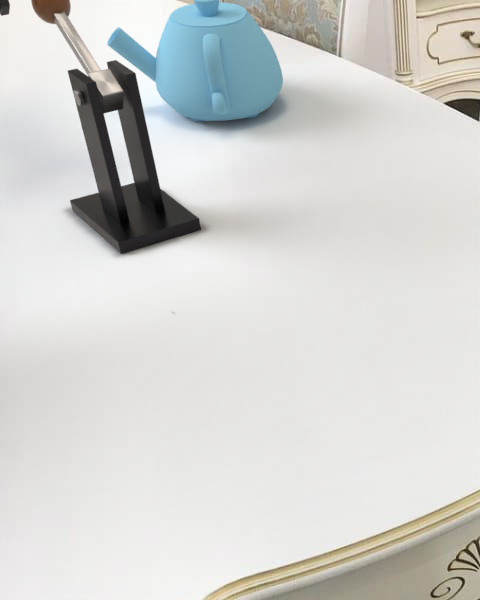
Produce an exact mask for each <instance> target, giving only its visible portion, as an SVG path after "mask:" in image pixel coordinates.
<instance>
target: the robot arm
mask: <svg viewBox="0 0 480 600" xmlns="http://www.w3.org/2000/svg"><path fill="white" fill-rule="evenodd" d="M10 7H11V4H10V1H9V0H0V16H1V17H2V16H6V15H8V16H9V15H10V9H11V8H10Z"/></svg>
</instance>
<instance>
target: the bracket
mask: <svg viewBox="0 0 480 600" xmlns="http://www.w3.org/2000/svg"><path fill="white" fill-rule="evenodd" d="M106 65H107V69H110V70H111V72H112V73H113V75H114V77H115V78H116V80H117V81H118V83H119V85H120V86H121V88H122V89H123V109H121V110H117V113H118V117H119V122H120V126H121V131H122V134H123V139H124V143H125V147H126V153H127V157H128V160H129V165H130V169H131V175H132V179H133V182H132V183H131V182H130V183H128V184H125V185H121V180H120V176H119V172H118V168H117V163H116V159H115V155H114V151H113V146H112V143H111V138H110V135H109V130H108V126H107V122H106V118H105V113H103V109H102V105H101V100H100V96H99V92H98V88H97V84H96V82H95V81H94V80H92V79H91V78H90V77H89V76H88V75H87V74H85V73H84V72H83V71H81V70H80V69H78V68H74V69H67V75H68V78H69V82H70V86H71V90H72V93H73V98H74V102H75V106H76V111H77V113H78V117H79V121H80V126H81V129H82V133H83V136H84V141H85V145H86V148H87V154H88V157H89V160H90V164H91V168H92V172H93V174H94V180H95V184H96V188H97V191H98V192H95V193H91V194H87V195H84V196H80V197H77V198H73V199H70V200H69V202H70V207H71V209H72V212H74V214H76V216H78V217H79V218H80V219H81V220H83V221H84V222H85V223H86V224H87V225H88V226H89V227H90V228H91V229H92V230H94V231H95V232H96V233H97V234H98V235H99V236H100V237H102V238H103V239H104V240H105V241H106V242H107V243H108V244H110V245H111V246H112V247H113V248H114V249H115V250H116V251H117V252H119V253H120V254H124V253H128V252H131V251H134V250H137V249H140V248H145V247H147V246H150V245H154V244H158V243H160V242H164V241H167V240H170V239H174V238H177V237H181V236H183V235H187V234H190V233H193V232H197V231H199V230H202V227H201V221H200V218H199V217H198V216H196V215H195V214H194V213H193V212H192V211H190V210H189V209H188V208H186V207H185V206H184V205H182V204H181V203H180V202H178V200H176V199H175V198H173V197H172V196H171V195H169V194H168V193H167V192H166V191H164V190H163V189H161V186H160V181H159V176H158V172H157V171H158V170H157V168H156V167H157V166H156V162H155V158H154V153H153V148H152V144H151V138H150V134H149V130H148V124H147V121H146V115H145V111H144V106H143V102H142V97H141V92H140V87H139V84H138V79H137V74H136V72H135V71H133V70H132V69H130V68H129V67H128V66H125V64H123V63H122V62H120V61H119V60H116V59H114V60H109V61H106Z"/></svg>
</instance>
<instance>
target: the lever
mask: <svg viewBox="0 0 480 600" xmlns="http://www.w3.org/2000/svg"><path fill="white" fill-rule="evenodd" d="M30 1H31V6H32V9H33V11H34V13H35V14H36V17H38V18H39V19H40V20H42V21H43V22H45V23H47V24H50V25H55V26H56V27H57V28H58V30H59V32H60V33H61V34H62V36H63V38H64V40H65V41H66V43H67V45H68V46H69V48H70V49H71V51H72V52H73V54H74V56H75V57H76V59H77V61H78V62H79V63H80V65H81V67H82V69H83V70H84V71H85V73H86V75H87V76H88V77H90V78H91V79H92V80H94V81H95V82H96V84H97V88H98V92H99V96H100V100H101V105H102V109H103V113H104V114H108V113H112V112H115V111H118V110H121V109H123V89H122V88H121V86H120V85H119V83H118V81H117V80H116V78H115V77H114V75H113V73H112V72H111V70H110V69H108V68H107V69H102V70H101V68H100V66H99V64H98V63H97V61H96V59H95V58H94V56H93V55H92V53H91V51H90V50H89V48H88V47H87V46H86V44H85V42H84V40H83V39H82V37H81V35H80V34H79V32H78V30H77V29H76V28H75V26H74V25H73V23H72V21H71V19H70V18H69V16H70V15H71V14H70V13H71V10H72V9H71V8H72V7H71V6H72V5H71V0H30Z"/></svg>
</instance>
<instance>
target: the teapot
mask: <svg viewBox="0 0 480 600" xmlns="http://www.w3.org/2000/svg"><path fill="white" fill-rule="evenodd" d="M192 1H193V2H194V3H190V4H186V5H183V6H180V7H178V8H176V9H174V10H173V11H172V12H171V13H170V15H169V16H168V19H167V21H166V23H165V25H164V28H163V31H162V33H161V36H160V38H159V42H158V46H157V49H156V54H155V56H154V55H153V54H151V52H149V51H148V50H147V49H146V48H144V47H143V46H142V45H141V44H140V43H139V42H137V41H136V40H135V39H134V38H133V37H131V36H130V35H129V34H128V33H127V32H126V31H124V30H123V29H122V28H121V27H120V26H118V27H116V28H115V29H114V31H113V32H112V33H111V35H109V38H108V40H107V42H106V45H107V47H109V48H111V49H112V50H113V51H114V52H115V53H117V54H118V55H119V56H121V57H122V58H124V59H125V60H126V61H127V62H129V64H130V65H132V66H134V67H135V68H136V69H137V70H139V71H140V72H141V73H143V74H144V75H145V76H146V77H148V78H149V79H150V80H152V81H153V82H154V83H155V87H156V92H158V95H159V96H160V98H161V99H162V100H163V101H164V102H165V103H166V104H167V105H168V106H169V107H170V108H171V109H173V110H174V111H175V112H176V113H178V114H179V115H181V116H183V117H186V118H190V119H191V121H193V122H198V123H200V122H207V121H212V122H214V121H218V122H219V121H233V120H240V119H247V120H248V119H255V118H257V117H259V114H260V113H262V112H264V111H266V110H268V109H269V108H270V107H271V106H272V105H273V103H274V102H275V100H276V99H277V98H278V96H279V94H280V92H281V91H282V88H283V85H284V78H283V77H284V76H283V71H282V68H281V64H280V61H279V59H278V57H277V53H276V51H275V48H274V47H273V45H272V43H271V41H270V40H269V39H268V37H267V35H266V33H265V32H264V31H263V29H262V28H261V26H260V25H259V24H258V22H257V21H256V19H255V18H254V17H253V16H252V15H251V14H250V12H249V11H248V10H247V9H246V8H244V7H243V6H241V5H239V4H235V3H231V2H225V1H223V2H222V1H220V0H192Z"/></svg>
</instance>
